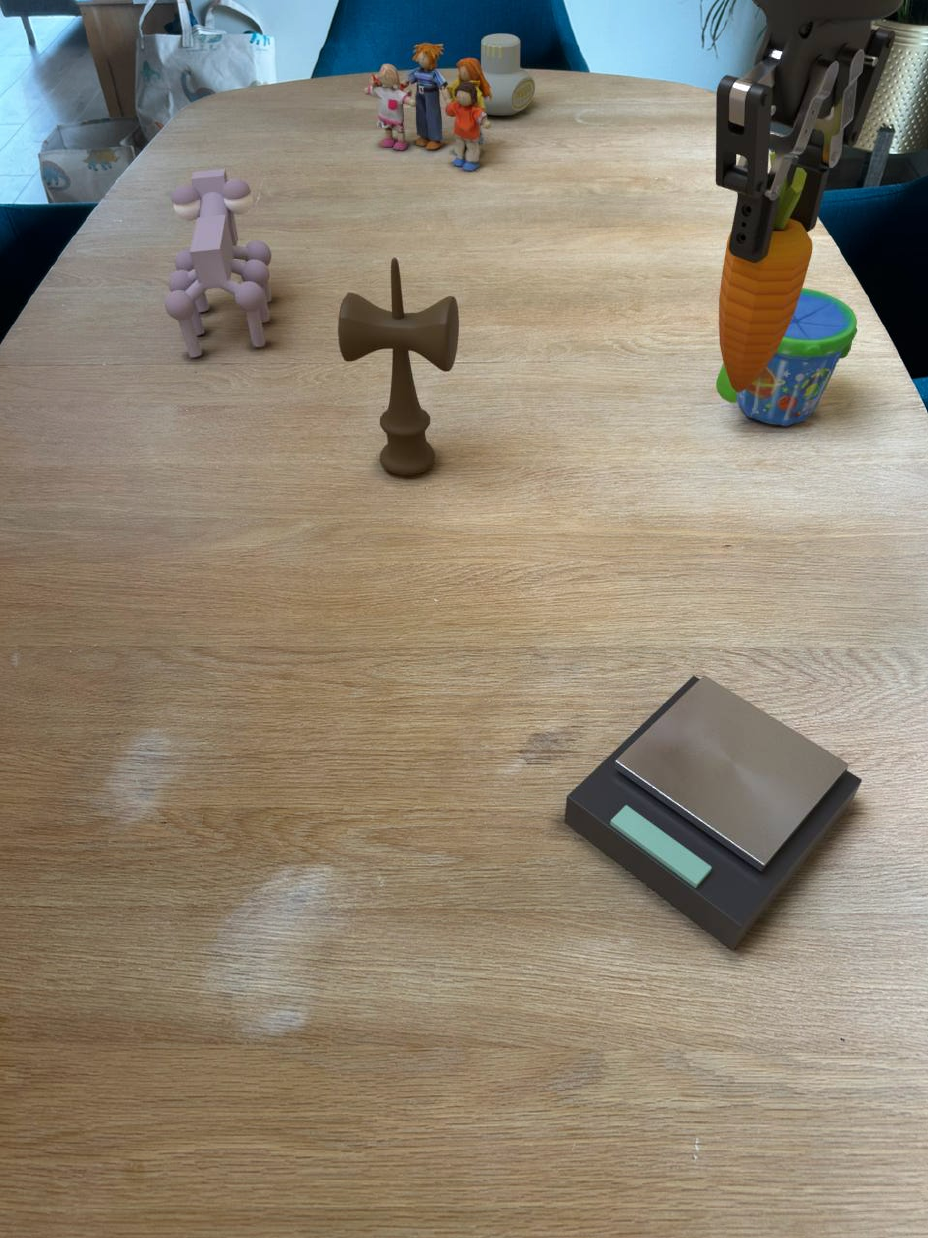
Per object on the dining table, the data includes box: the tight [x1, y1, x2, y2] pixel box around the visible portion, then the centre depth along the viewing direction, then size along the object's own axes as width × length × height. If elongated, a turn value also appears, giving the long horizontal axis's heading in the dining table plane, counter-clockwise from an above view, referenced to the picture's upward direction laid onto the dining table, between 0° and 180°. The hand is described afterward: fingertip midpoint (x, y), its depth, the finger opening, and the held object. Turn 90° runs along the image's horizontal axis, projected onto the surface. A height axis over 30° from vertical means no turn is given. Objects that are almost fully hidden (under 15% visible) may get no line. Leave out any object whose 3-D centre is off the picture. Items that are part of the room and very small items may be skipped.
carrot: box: [718, 150, 813, 392], centre depth 61 cm, size 5×5×15 cm
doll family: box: [363, 42, 493, 172], centre depth 141 cm, size 21×10×13 cm, turn 55°
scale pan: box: [614, 675, 850, 872], centre depth 64 cm, size 10×11×1 cm
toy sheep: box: [164, 168, 272, 358], centre depth 108 cm, size 20×11×14 cm, turn 5°
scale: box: [563, 675, 863, 951], centre depth 65 cm, size 14×13×4 cm
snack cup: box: [715, 287, 858, 427], centre depth 95 cm, size 16×10×10 cm
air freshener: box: [480, 33, 536, 117], centre depth 153 cm, size 11×8×10 cm
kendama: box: [337, 257, 460, 476], centre depth 86 cm, size 6×10×20 cm, turn 81°
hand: (771, 240), depth 59 cm, fingers closed on carrot, 4 cm apart
